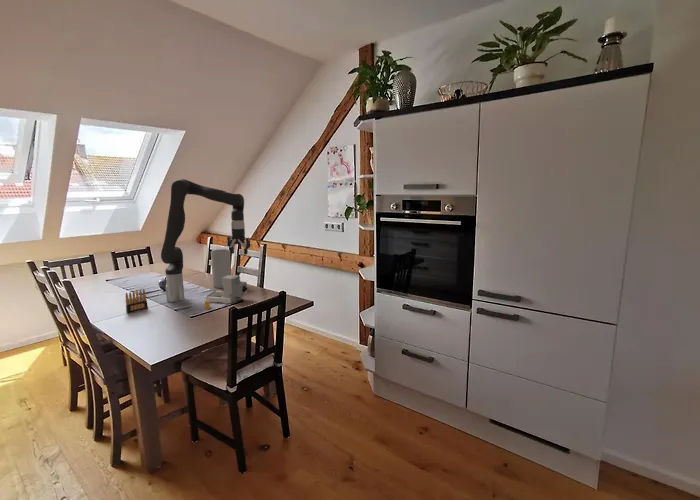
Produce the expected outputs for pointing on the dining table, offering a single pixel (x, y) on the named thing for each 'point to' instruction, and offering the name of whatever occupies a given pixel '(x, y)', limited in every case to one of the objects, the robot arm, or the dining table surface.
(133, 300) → the ammunition clip
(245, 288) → the circuit breaker
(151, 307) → the dining table surface
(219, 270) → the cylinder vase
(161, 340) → the dining table surface
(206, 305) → the orange wire nut
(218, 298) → the panel slot
